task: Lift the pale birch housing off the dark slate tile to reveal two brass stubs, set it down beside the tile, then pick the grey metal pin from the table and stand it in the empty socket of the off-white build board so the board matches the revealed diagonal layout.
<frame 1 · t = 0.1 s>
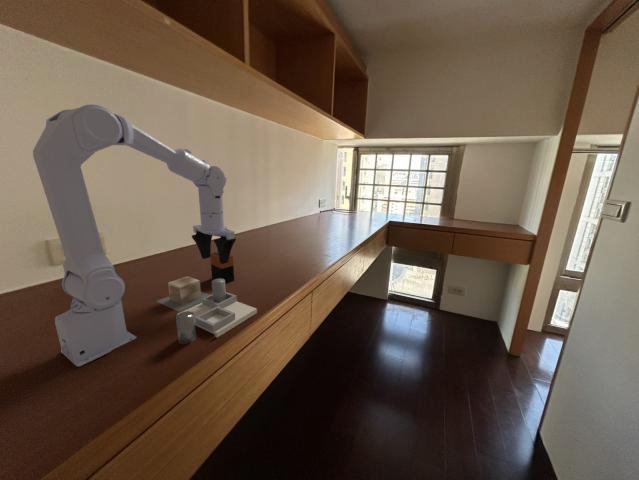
hand: (215, 260, 72), 10 cm above the table, fingers open, 7 cm apart
housing: (185, 298, 69), point 1 cm above the table, touching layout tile
pin: (187, 341, 52), on the table
build board: (218, 315, 62), on the table
battery: (223, 281, 83), on the table
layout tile: (186, 300, 69), on the table
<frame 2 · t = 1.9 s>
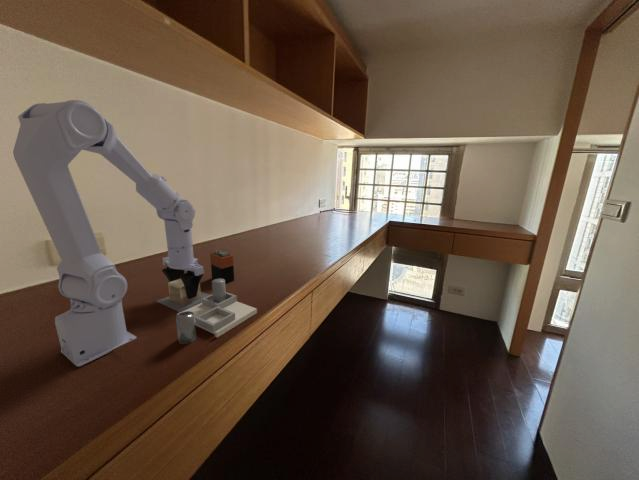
hand: (185, 294, 69), 2 cm above the table, fingers closed on housing, 5 cm apart
housing: (185, 298, 69), point 1 cm above the table, touching gripper, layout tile
everything else where it was.
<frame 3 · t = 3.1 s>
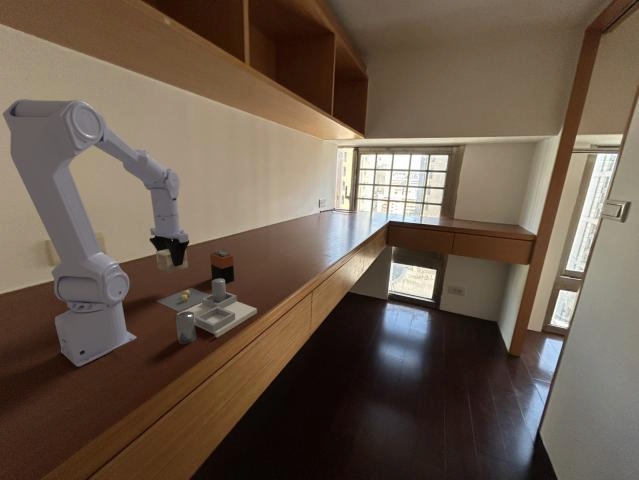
hand: (172, 263, 71), 9 cm above the table, fingers closed on housing, 5 cm apart
housing: (173, 268, 72), point 8 cm above the table, touching gripper
everything else where it was.
when the fingers open (2 cm above the table, at t = 4.8 s): housing stays where it is, on the table.
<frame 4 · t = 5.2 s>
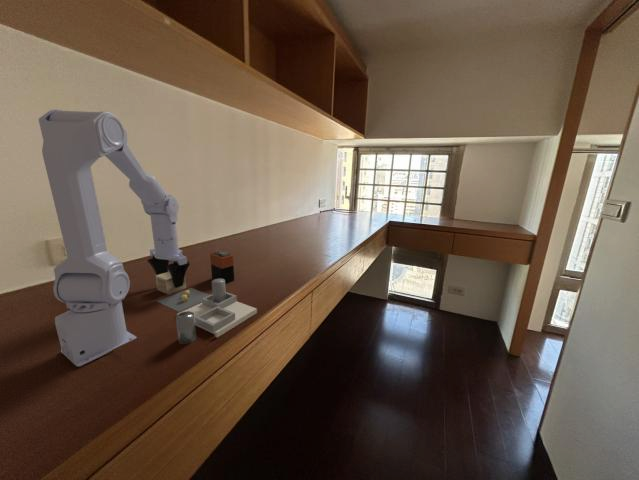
hand: (170, 283, 74), 2 cm above the table, fingers open, 7 cm apart
housing: (172, 290, 75), on the table
everything else where it was.
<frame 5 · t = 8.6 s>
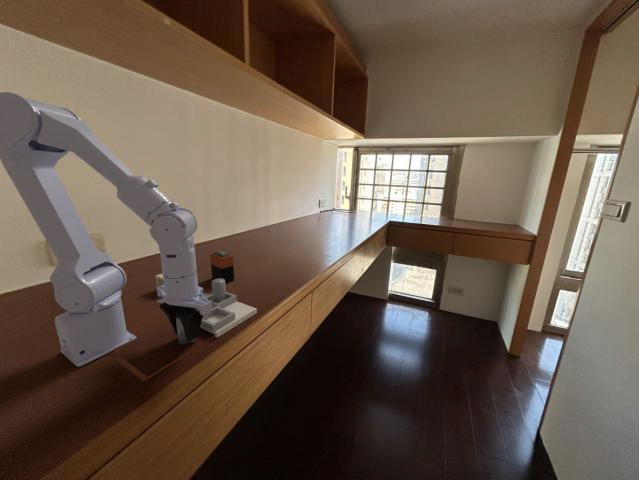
hand: (187, 335, 52), 1 cm above the table, fingers closed on pin, 3 cm apart
pin: (187, 341, 52), on the table, touching gripper
everything else where it was.
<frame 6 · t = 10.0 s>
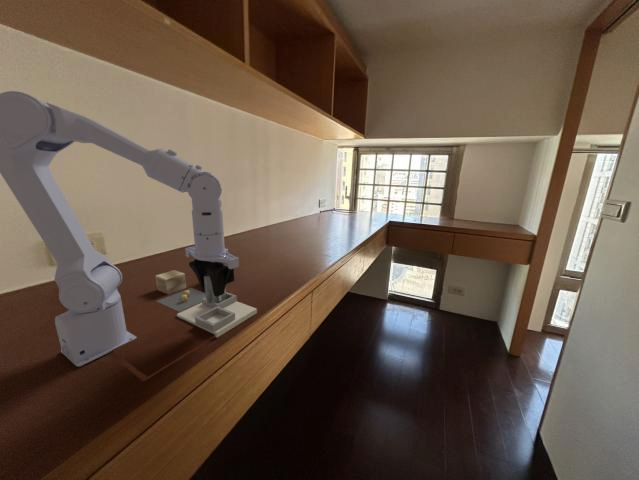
hand: (213, 292, 56), 8 cm above the table, fingers closed on pin, 3 cm apart
pin: (213, 299, 56), point 7 cm above the table, touching gripper
everything else where it was.
when the fingers open (3 cm above the table, at t = 11.2 s): pin stays where it is, resting on build board.
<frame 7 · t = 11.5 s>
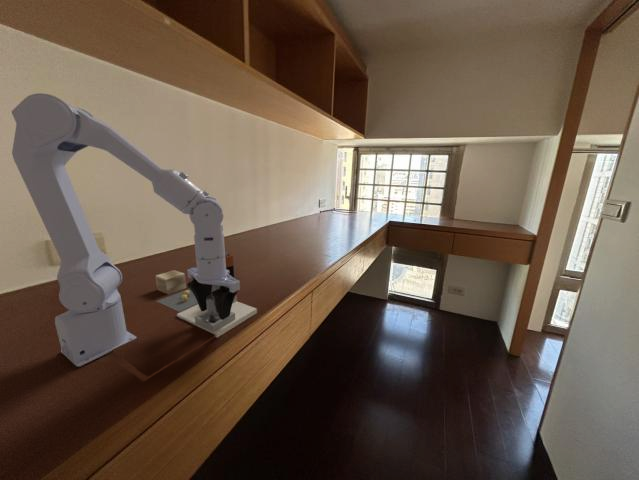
hand: (215, 313, 57), 3 cm above the table, fingers open, 6 cm apart
pin: (215, 321, 58), point 1 cm above the table, touching build board
everything else where it was.
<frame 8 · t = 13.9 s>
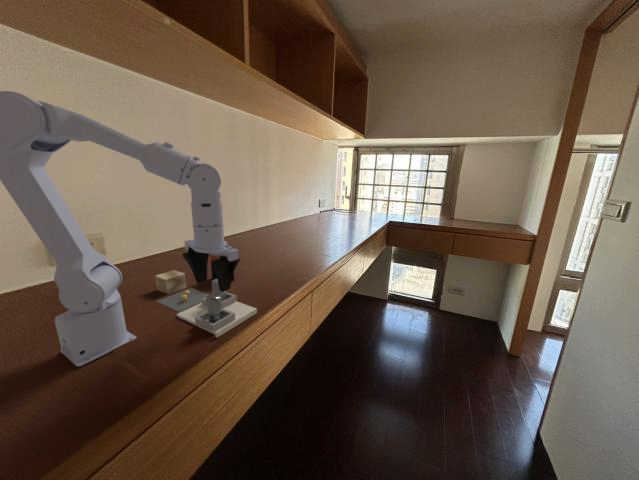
hand: (213, 285, 56), 10 cm above the table, fingers open, 7 cm apart
nothing on the table moved.
at the end: pin 0.0 cm from the target spot on the build board, point 1.2 cm above the build board's base; pin tilted 0°; housing moved 9.2 cm from its start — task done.
